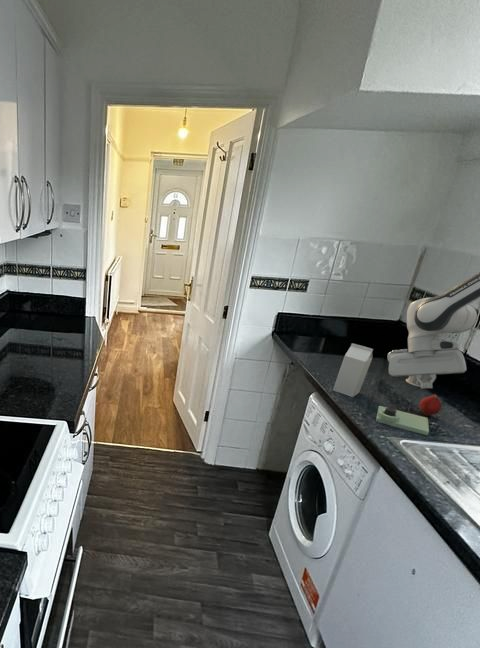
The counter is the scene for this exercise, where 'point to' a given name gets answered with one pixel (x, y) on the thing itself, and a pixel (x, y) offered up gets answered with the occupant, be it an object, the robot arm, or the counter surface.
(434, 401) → the onion
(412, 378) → the french press
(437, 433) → the counter surface
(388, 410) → the tare button
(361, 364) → the milk carton
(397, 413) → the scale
